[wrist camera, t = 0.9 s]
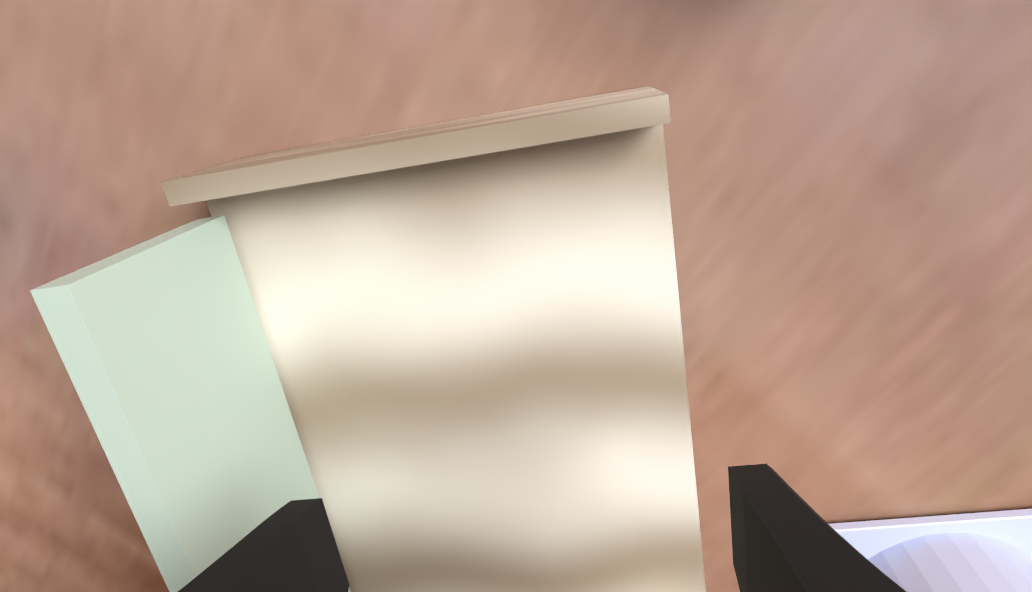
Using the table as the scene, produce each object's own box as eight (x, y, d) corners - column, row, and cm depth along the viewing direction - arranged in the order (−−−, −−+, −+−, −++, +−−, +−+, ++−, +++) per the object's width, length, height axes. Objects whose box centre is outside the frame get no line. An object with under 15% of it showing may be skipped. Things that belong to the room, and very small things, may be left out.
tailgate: (356, 606, 21) (286, 781, 16) (334, 607, 21) (257, 781, 16) (224, 214, 17) (68, 285, 12) (196, 219, 17) (30, 290, 12)
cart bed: (693, 551, 22) (717, 649, 19) (374, 574, 24) (337, 668, 20) (648, 86, 17) (668, 94, 13) (242, 157, 19) (160, 182, 15)
